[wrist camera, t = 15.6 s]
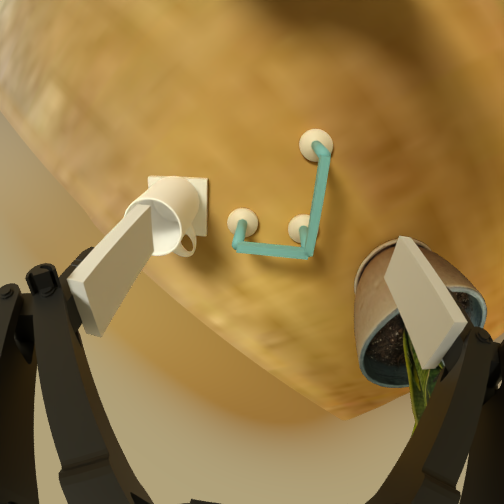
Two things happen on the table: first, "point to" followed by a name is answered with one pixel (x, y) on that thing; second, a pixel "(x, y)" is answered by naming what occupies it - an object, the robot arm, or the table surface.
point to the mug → (171, 214)
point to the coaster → (202, 190)
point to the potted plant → (401, 324)
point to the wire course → (301, 226)
